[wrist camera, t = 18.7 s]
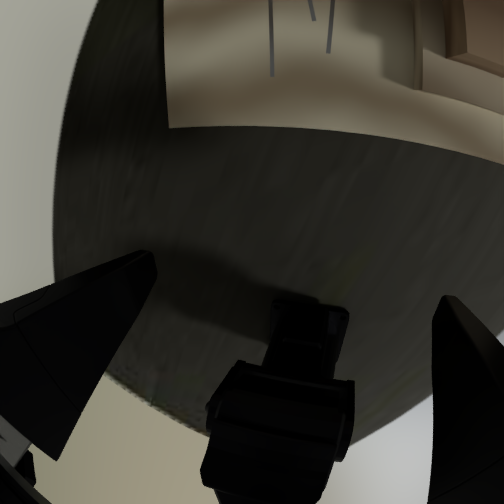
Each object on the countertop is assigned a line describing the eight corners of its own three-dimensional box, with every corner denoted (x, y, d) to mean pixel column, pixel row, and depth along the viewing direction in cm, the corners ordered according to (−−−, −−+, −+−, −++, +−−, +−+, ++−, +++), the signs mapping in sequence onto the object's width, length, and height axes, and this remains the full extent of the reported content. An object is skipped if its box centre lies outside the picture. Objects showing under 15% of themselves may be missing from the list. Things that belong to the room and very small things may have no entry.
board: (518, 166, 13) (528, 173, 12) (180, 124, 19) (169, 128, 18) (510, -35, 5) (519, -40, 3) (177, -62, 11) (166, -68, 10)
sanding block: (501, 115, 11) (546, 129, 7) (413, 90, 12) (440, 90, 8) (492, -26, 6) (525, -48, 2) (402, -55, 7) (416, -93, 3)
